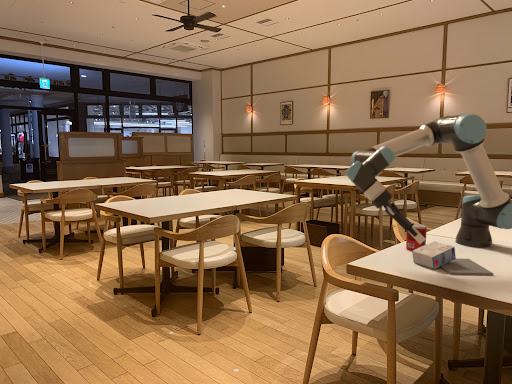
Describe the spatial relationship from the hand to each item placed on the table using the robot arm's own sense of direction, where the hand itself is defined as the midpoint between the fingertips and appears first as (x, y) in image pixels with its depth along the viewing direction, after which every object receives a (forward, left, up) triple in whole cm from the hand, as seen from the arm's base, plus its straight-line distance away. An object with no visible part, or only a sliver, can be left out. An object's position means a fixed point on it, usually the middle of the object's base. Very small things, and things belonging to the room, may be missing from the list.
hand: (422, 241), depth 148 cm
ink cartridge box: (-1, -1, -8) cm, 8 cm away
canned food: (-7, -26, -10) cm, 29 cm away
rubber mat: (-15, -1, -10) cm, 18 cm away
